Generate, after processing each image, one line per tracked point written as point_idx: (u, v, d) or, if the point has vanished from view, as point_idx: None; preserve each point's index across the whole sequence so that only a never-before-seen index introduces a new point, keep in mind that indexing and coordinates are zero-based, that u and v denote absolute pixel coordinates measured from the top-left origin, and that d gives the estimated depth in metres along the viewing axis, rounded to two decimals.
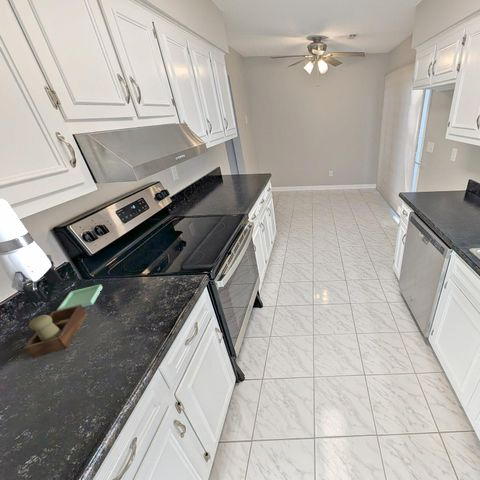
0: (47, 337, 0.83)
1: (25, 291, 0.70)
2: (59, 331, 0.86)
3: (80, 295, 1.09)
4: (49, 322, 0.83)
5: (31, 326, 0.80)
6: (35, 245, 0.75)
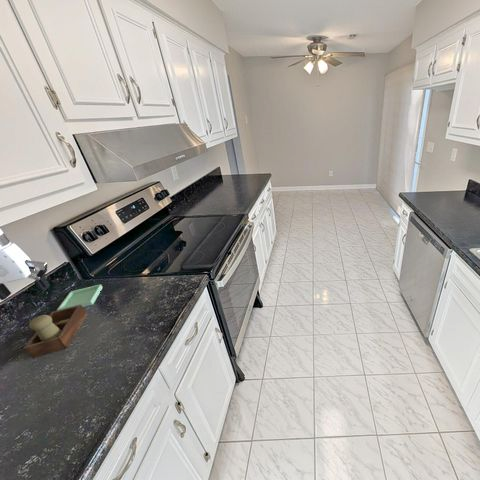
0: (47, 337, 0.83)
1: (44, 274, 0.77)
2: (59, 331, 0.86)
3: (80, 295, 1.09)
4: (49, 322, 0.83)
5: (31, 326, 0.80)
6: None
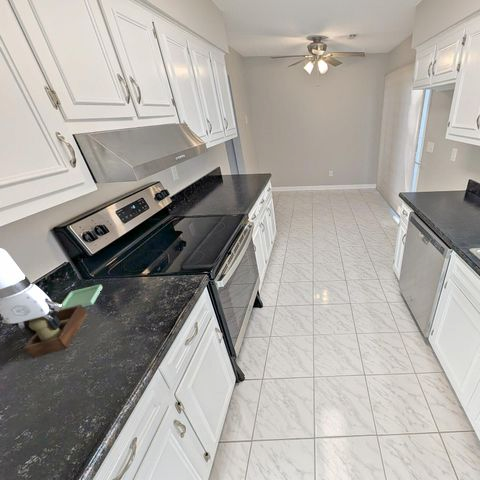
0: (47, 337, 0.83)
1: (56, 314, 0.84)
2: (59, 331, 0.86)
3: (80, 295, 1.09)
4: None
5: (31, 326, 0.80)
6: None
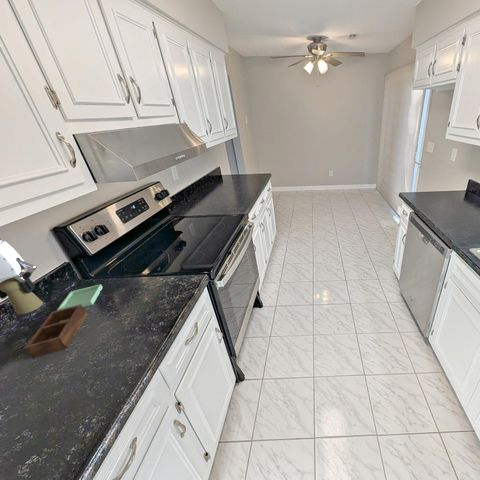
0: (19, 301, 0.77)
1: (29, 276, 0.77)
2: (33, 296, 0.80)
3: (80, 295, 1.09)
4: None
5: (0, 287, 0.74)
6: None
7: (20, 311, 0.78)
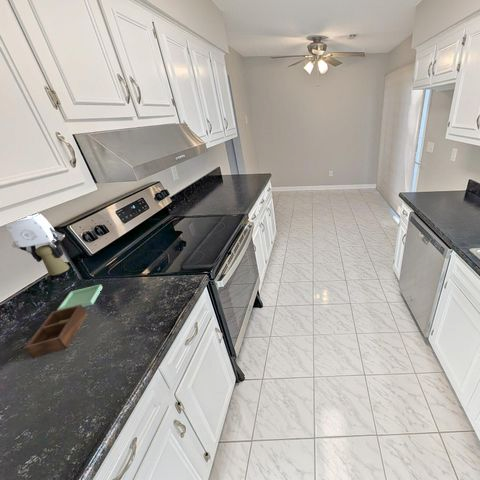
0: (51, 263, 0.95)
1: (59, 243, 0.95)
2: (62, 260, 0.97)
3: (80, 295, 1.09)
4: None
5: (37, 252, 0.92)
6: None
7: (52, 272, 0.95)
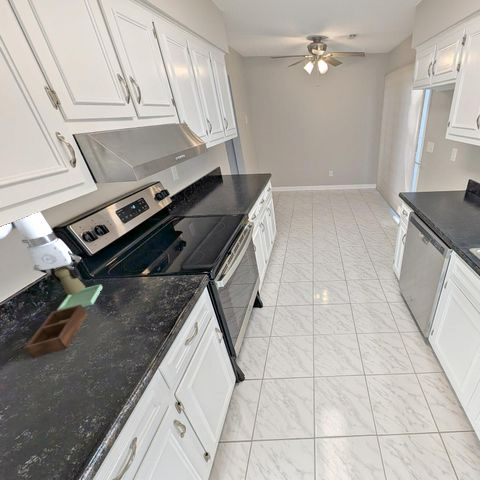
0: (69, 284, 1.01)
1: (76, 265, 1.01)
2: (78, 280, 1.04)
3: (80, 295, 1.09)
4: None
5: (56, 274, 0.98)
6: None
7: (70, 292, 1.02)
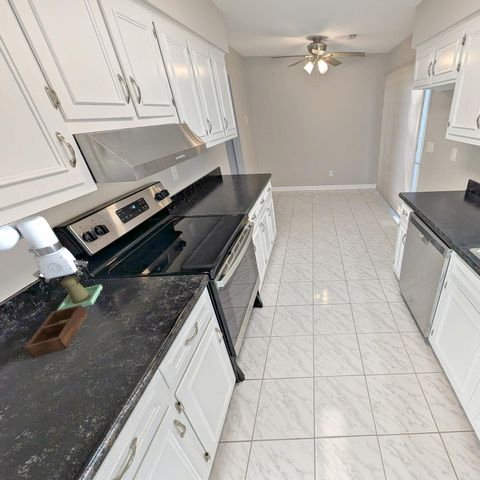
0: (75, 293, 1.03)
1: (85, 270, 1.03)
2: (84, 290, 1.06)
3: None
4: (77, 281, 1.03)
5: (63, 283, 1.00)
6: None
7: (75, 301, 1.04)
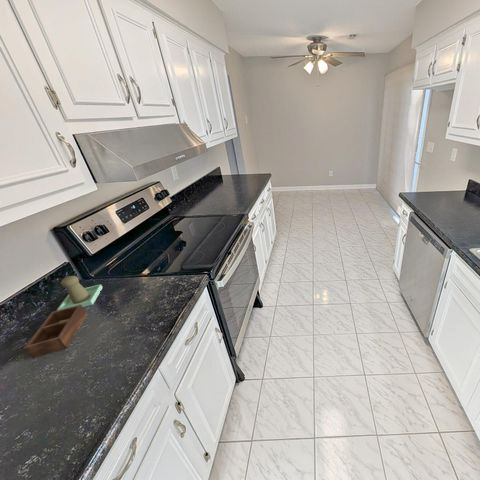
0: (75, 293, 1.03)
1: None
2: (84, 290, 1.06)
3: None
4: (76, 281, 1.03)
5: (63, 283, 1.00)
6: None
7: (75, 301, 1.04)
